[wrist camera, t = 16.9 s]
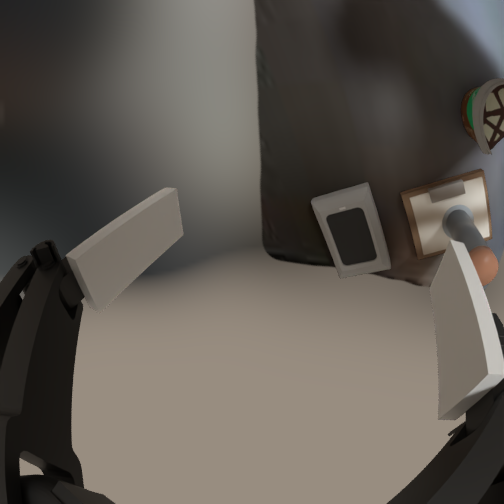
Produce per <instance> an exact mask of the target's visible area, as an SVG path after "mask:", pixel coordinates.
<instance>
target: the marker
mask: <svg viewBox="0 0 504 504" xmlns="http://www.w3.org/2000/svg"><path fill="white" fill-rule="evenodd" d="M446 225H447V229H448V231H449V233H450V235H451V237H452V239H453V240H454V241H458V242H461V243H464V245H465V247H466V249H467V251H468V253H469V256H470V258H471V260H472V262H473V265H474V267H475V269H476V272H477V274H478V277H479V279H480V282H481V284H482V286H484V285H486V284H488V283H490V282H491V281H492V280H493V278H494V277H495V276H496V274H497V272H498V261H497V259H496V257H495V255H494V254H493V252H492V250H491V249H490V248H489V247H488V245H487V243H486V242H485V240H484V238H483V237H482V235H481V233H480V232H479V230H478V229H477V227H476V226H475V224H474V223H473V221H472V220H471V218H470V217H469V215H468V214H467V213H466V212H465V211H464V210H460V209H458V210H454V211H453V212H451V213H450V214H449V216H448V218H447V221H446Z"/></svg>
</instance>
